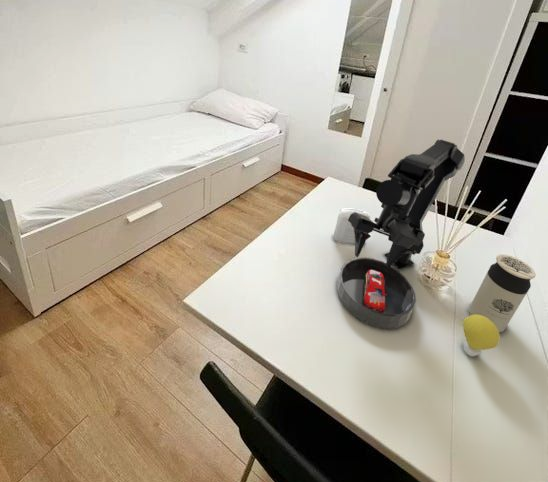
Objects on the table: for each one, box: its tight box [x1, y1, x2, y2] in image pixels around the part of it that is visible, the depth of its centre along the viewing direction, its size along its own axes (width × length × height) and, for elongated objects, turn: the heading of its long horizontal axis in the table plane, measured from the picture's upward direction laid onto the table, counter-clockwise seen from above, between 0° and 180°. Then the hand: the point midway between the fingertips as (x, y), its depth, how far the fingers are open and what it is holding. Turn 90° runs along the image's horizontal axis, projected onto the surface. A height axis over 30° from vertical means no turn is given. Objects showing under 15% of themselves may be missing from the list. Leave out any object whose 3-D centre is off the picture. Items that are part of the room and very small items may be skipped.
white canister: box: [468, 254, 536, 333], centre depth 72 cm, size 8×8×18 cm
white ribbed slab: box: [332, 207, 371, 245], centre depth 97 cm, size 10×4×12 cm, turn 84°
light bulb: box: [462, 314, 501, 357], centre depth 65 cm, size 7×7×10 cm
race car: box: [363, 270, 387, 313], centre depth 77 cm, size 13×5×4 cm, turn 161°
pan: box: [336, 257, 417, 330], centre depth 78 cm, size 19×19×4 cm
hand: (371, 261), depth 74 cm, fingers open, 9 cm apart
